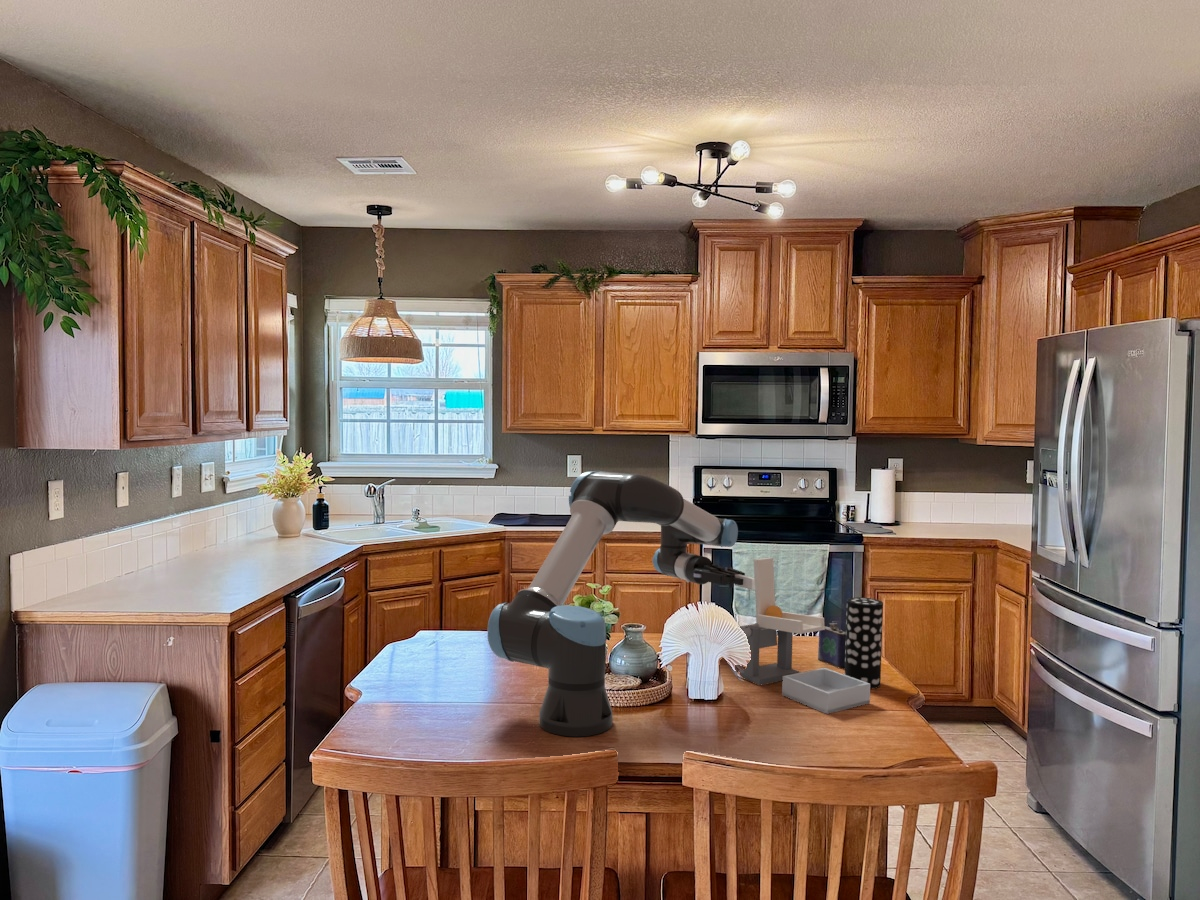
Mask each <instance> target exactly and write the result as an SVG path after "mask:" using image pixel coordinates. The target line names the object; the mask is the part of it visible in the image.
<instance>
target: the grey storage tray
mask: <svg viewBox="0 0 1200 900" xmlns="http://www.w3.org/2000/svg"><path fill="white" fill-rule="evenodd" d="M781 684H782V686H781V687H782V689H781V692H782V693H781V696H782V695H783V696H782V697H784V696H786V697H785V698H787V697H788V698H787V699H789V698H790V699H789V700H791V701H794V700H795V701H794V702H796V701H797V703H799V702H800V704H801V703H802V704H801V705H804V706H806V705H807V706H806V707H808V708H812V709H814V710H816V711H819V712H821V713H823V714H827V715H829V713H830V714H834V713H837V712H840V711H845V710H849V709H853V707H854V708H858V707H861V705H862V706H865V704H866V705H868V704H869V703H870V702H871V701H870V700H871V689H870V683H867V682H864V681H861V680H858V679H855V678H853V677H850V676H847V675H845V673H844V674H843V673H841V672H838V671H835V670H833V669H830V668H826V667H821V668H817V669H816V668H815V669H812V670H811V669H810V670H808V671H802V672H799V673H796V674H791V675H786V676H783V681H781ZM857 706H858V707H857Z"/></svg>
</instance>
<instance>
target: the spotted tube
mask: <svg viewBox="0 0 1200 900" xmlns="http://www.w3.org/2000/svg"><path fill="white" fill-rule="evenodd" d="M883 608H884V602H883V601H882V600H880V599H876V598H870V597H859V596H858V597H850V598H847V599H846V617H845V619H846V620H845V621H846V622H845V633H846V645H845V668H844V675H847V676H850V677H853V678H855V679H858V680H861V681H864V682H867V683H870V688H874V689H877V688H876V687H878V688H880V687H881V679H882V678H881V673H882V647H883V646H882V645H883V643H882V642H883V617H884V615H883V614H884V613H883V612H884V609H883ZM879 686H880V687H879Z"/></svg>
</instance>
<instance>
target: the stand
mask: <svg viewBox="0 0 1200 900" xmlns="http://www.w3.org/2000/svg"><path fill="white" fill-rule="evenodd" d="M750 625H751V624H750ZM744 626H745V625H744ZM777 632H778V633H777V653H776V654H777V657H776V658H777V659H776V662H774V663H768V664H763V665H760V648H759V642H760V628H758V627H755V626H752V625H751V626H745V629H744V633H745V634H746V636H747V639H748V643H749V645H750V650H751V660H750V662H749V663H748V664H747V668H746V669H744V668H743V669H744V670H743V669H738V670H739V672H740V675H741V676H742V677H743V678H745V679H747V680H749V681H751V682H754V683H756V684H758V685H757V686H759V685H761V684H765V685H768V684H767V683H770V684H773V683H772V682H775V683H778V682H777V681H780V682H782V680H783V676H786V675H791V674H796V673H800V671H799V670H797V669H793V668H792V666H793V664H792V663H793V635H794V633H792V632H786V631H780V630H777ZM747 680H746V681H747ZM749 681H748V682H749ZM751 682H750V683H751ZM754 683H753V684H754ZM756 684H755V685H756ZM761 686H762V685H761Z"/></svg>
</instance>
